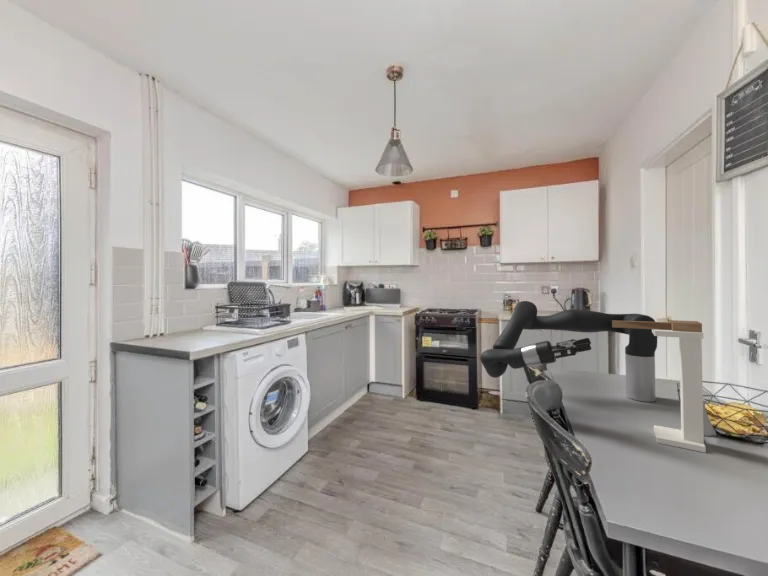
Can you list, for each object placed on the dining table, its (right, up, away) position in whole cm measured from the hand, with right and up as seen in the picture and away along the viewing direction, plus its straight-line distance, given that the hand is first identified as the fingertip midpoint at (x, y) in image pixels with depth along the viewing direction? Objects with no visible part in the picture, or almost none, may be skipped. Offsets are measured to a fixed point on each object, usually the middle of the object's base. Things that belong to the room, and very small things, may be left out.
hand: (590, 343), depth 105 cm
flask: (+29, -26, -6) cm, 40 cm away
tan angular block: (+14, +6, -9) cm, 18 cm away
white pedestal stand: (+18, -26, -12) cm, 34 cm away
